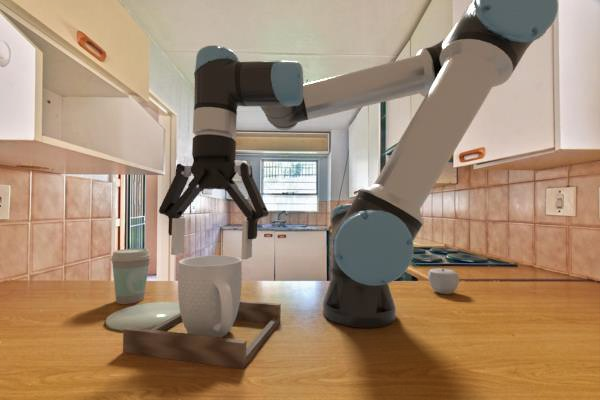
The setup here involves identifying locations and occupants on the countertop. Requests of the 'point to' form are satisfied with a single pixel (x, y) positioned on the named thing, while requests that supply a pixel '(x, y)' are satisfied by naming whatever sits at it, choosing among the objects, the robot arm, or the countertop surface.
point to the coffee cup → (130, 274)
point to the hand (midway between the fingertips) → (211, 256)
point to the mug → (209, 293)
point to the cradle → (203, 339)
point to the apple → (443, 280)
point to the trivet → (142, 315)
